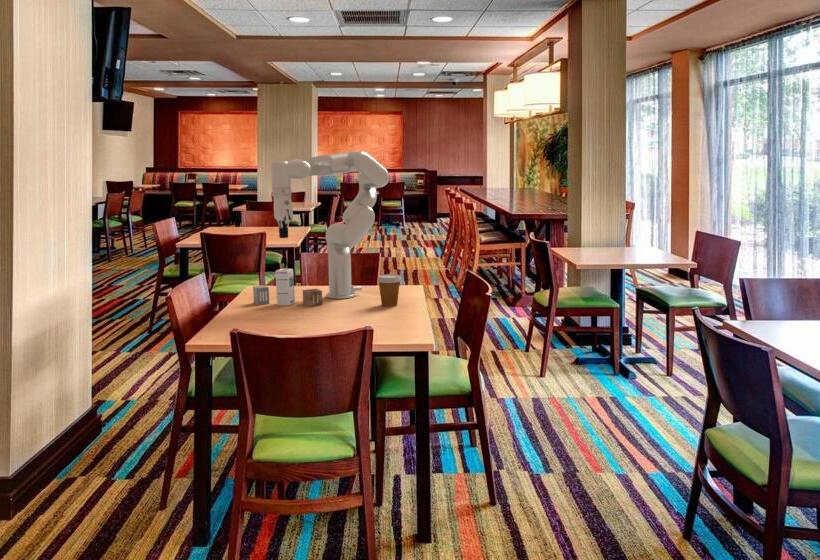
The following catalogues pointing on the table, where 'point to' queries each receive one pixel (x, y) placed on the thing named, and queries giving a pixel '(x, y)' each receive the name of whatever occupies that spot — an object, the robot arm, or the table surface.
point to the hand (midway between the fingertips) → (283, 237)
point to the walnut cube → (312, 297)
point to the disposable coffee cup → (389, 289)
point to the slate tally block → (261, 295)
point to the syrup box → (285, 287)
